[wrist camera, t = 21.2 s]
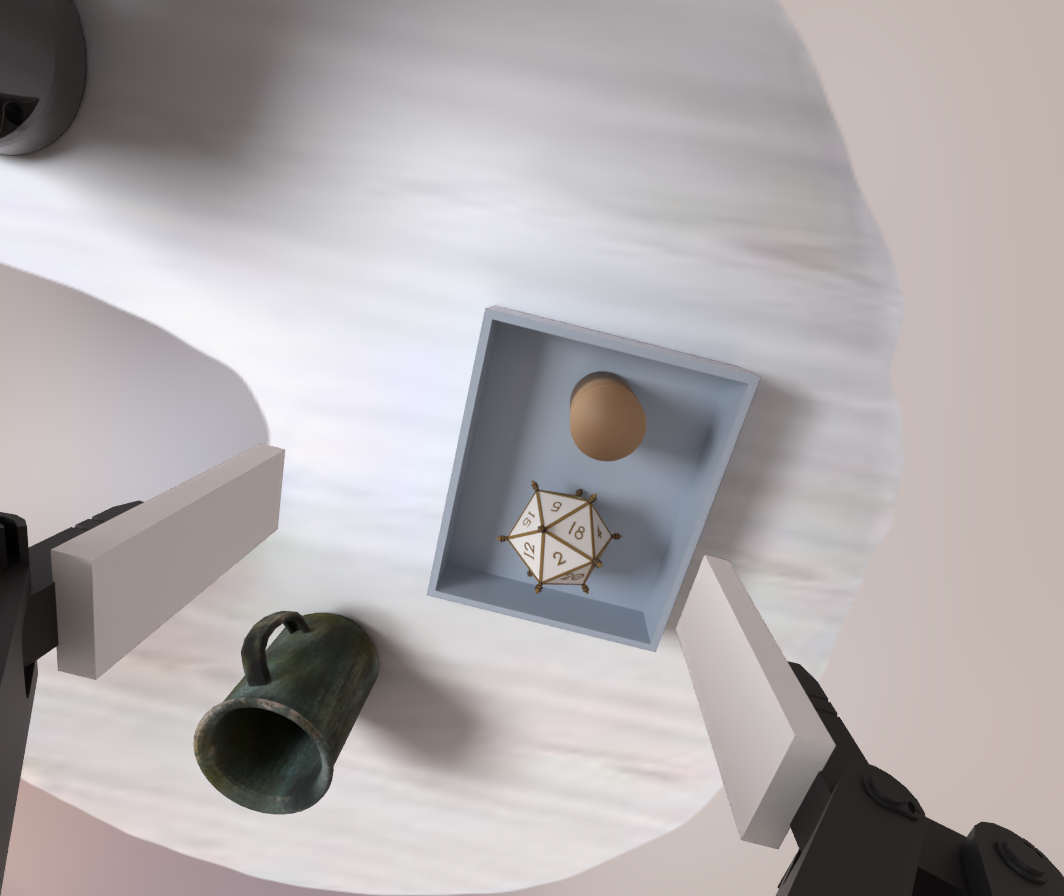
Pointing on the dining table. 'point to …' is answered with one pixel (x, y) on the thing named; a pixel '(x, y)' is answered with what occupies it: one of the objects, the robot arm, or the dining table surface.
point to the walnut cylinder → (606, 417)
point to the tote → (584, 474)
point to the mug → (287, 712)
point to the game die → (560, 538)
